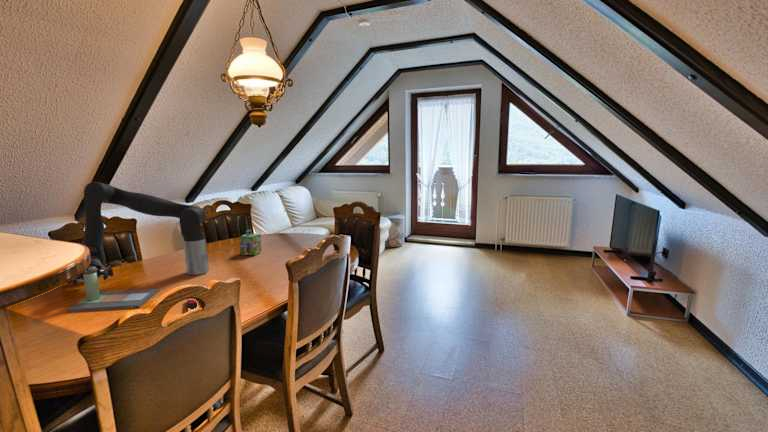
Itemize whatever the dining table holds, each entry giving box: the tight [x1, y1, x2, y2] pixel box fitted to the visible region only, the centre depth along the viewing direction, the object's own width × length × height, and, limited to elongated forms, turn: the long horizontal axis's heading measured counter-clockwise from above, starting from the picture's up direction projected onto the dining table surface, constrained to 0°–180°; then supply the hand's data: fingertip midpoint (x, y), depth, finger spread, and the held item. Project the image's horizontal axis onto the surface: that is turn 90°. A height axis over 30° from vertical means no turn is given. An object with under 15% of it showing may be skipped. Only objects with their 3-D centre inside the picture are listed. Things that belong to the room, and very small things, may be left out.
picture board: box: [67, 288, 160, 313], centre depth 135 cm, size 24×16×1 cm, turn 101°
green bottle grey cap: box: [83, 266, 100, 301], centre depth 133 cm, size 4×4×13 cm
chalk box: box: [238, 228, 262, 256], centre depth 201 cm, size 9×9×15 cm
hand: (90, 280), depth 131 cm, fingers open, 8 cm apart
